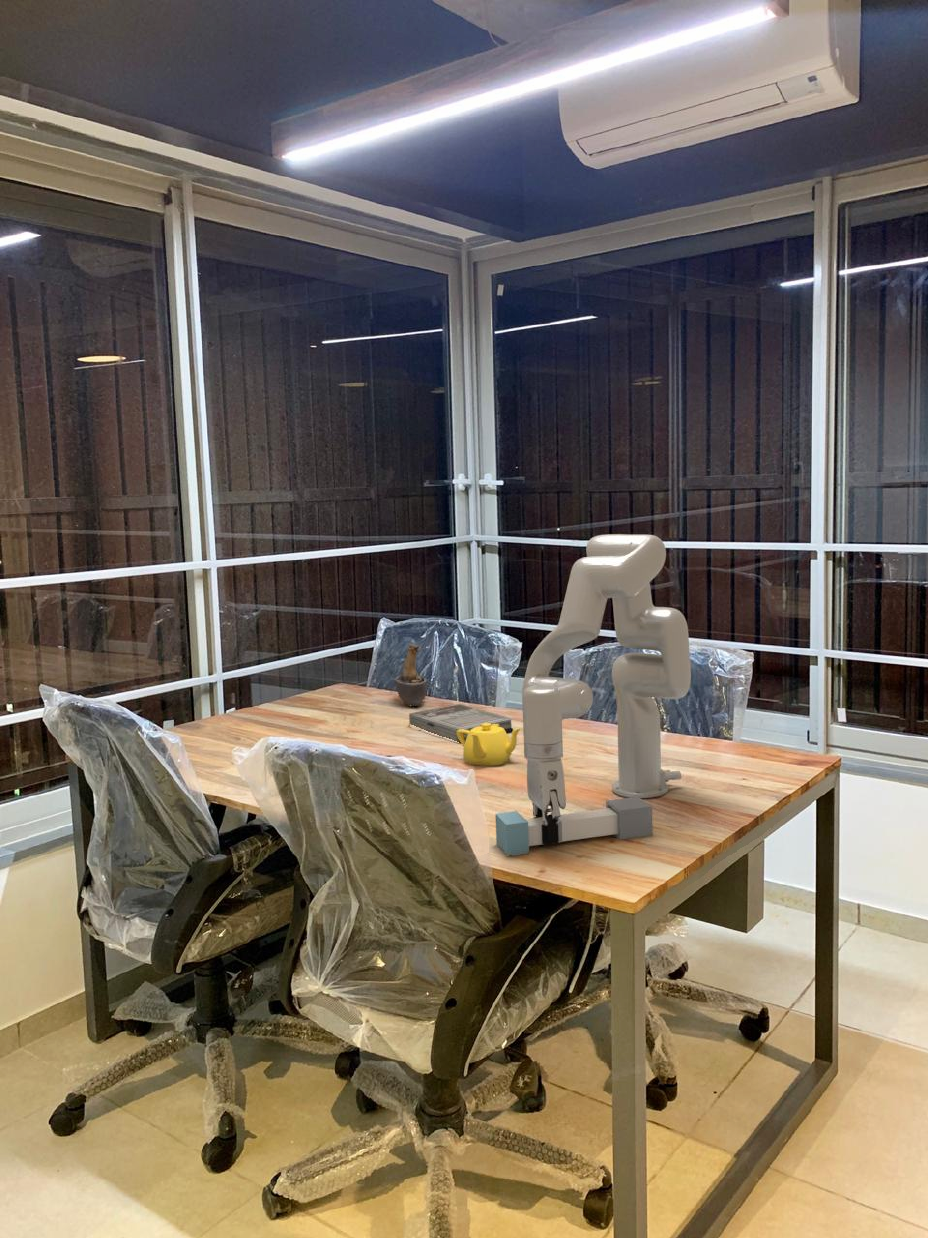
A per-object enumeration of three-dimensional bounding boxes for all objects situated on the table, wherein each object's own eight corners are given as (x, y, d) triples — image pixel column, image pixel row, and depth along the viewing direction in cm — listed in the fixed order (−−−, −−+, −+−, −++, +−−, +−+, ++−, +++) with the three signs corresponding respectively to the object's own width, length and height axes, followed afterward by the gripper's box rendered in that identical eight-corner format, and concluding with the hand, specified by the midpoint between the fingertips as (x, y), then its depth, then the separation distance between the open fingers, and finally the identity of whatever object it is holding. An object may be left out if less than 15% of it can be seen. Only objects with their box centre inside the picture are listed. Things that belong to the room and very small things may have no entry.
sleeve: (638, 824, 205) (637, 796, 205) (652, 835, 199) (652, 806, 198) (606, 829, 204) (606, 800, 203) (620, 839, 197) (619, 810, 197)
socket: (517, 841, 199) (516, 811, 198) (529, 853, 192) (528, 822, 191) (496, 844, 198) (495, 813, 197) (507, 856, 191) (506, 825, 190)
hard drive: (460, 745, 275) (459, 730, 274) (408, 728, 297) (407, 713, 296) (513, 734, 285) (512, 718, 285) (459, 718, 307) (458, 703, 307)
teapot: (473, 772, 248) (472, 733, 247) (454, 759, 260) (452, 721, 259) (524, 764, 253) (522, 726, 252) (502, 751, 265) (501, 715, 264)
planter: (419, 711, 316) (416, 649, 313) (377, 707, 325) (374, 646, 322) (446, 702, 328) (443, 641, 326) (405, 697, 337) (402, 639, 335)
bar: (619, 826, 203) (619, 806, 202) (628, 833, 199) (628, 812, 198) (506, 841, 197) (506, 821, 196) (513, 849, 193) (512, 828, 192)
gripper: (577, 758, 187) (580, 852, 190) (546, 737, 203) (549, 824, 206) (539, 762, 185) (542, 857, 188) (511, 741, 201) (514, 828, 204)
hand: (546, 838), depth 197 cm, fingers closed on bar, 4 cm apart
